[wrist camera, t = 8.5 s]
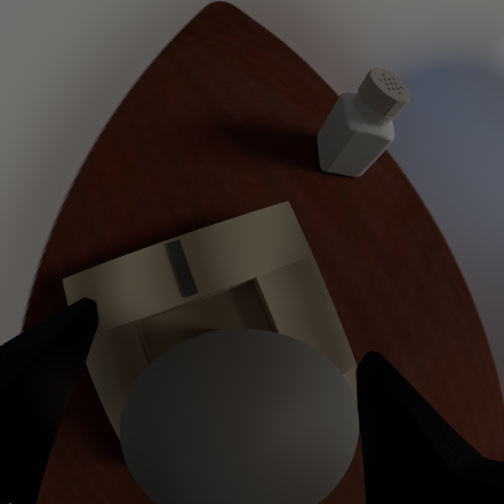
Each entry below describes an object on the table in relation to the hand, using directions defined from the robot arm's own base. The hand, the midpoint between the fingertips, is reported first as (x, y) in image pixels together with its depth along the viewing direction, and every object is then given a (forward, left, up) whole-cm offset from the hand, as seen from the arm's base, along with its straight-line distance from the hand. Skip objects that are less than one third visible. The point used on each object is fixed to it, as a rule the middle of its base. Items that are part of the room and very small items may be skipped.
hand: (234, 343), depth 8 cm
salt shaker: (+14, +10, -10) cm, 20 cm away
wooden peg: (-1, -1, -8) cm, 8 cm away
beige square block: (-1, -1, -10) cm, 10 cm away
